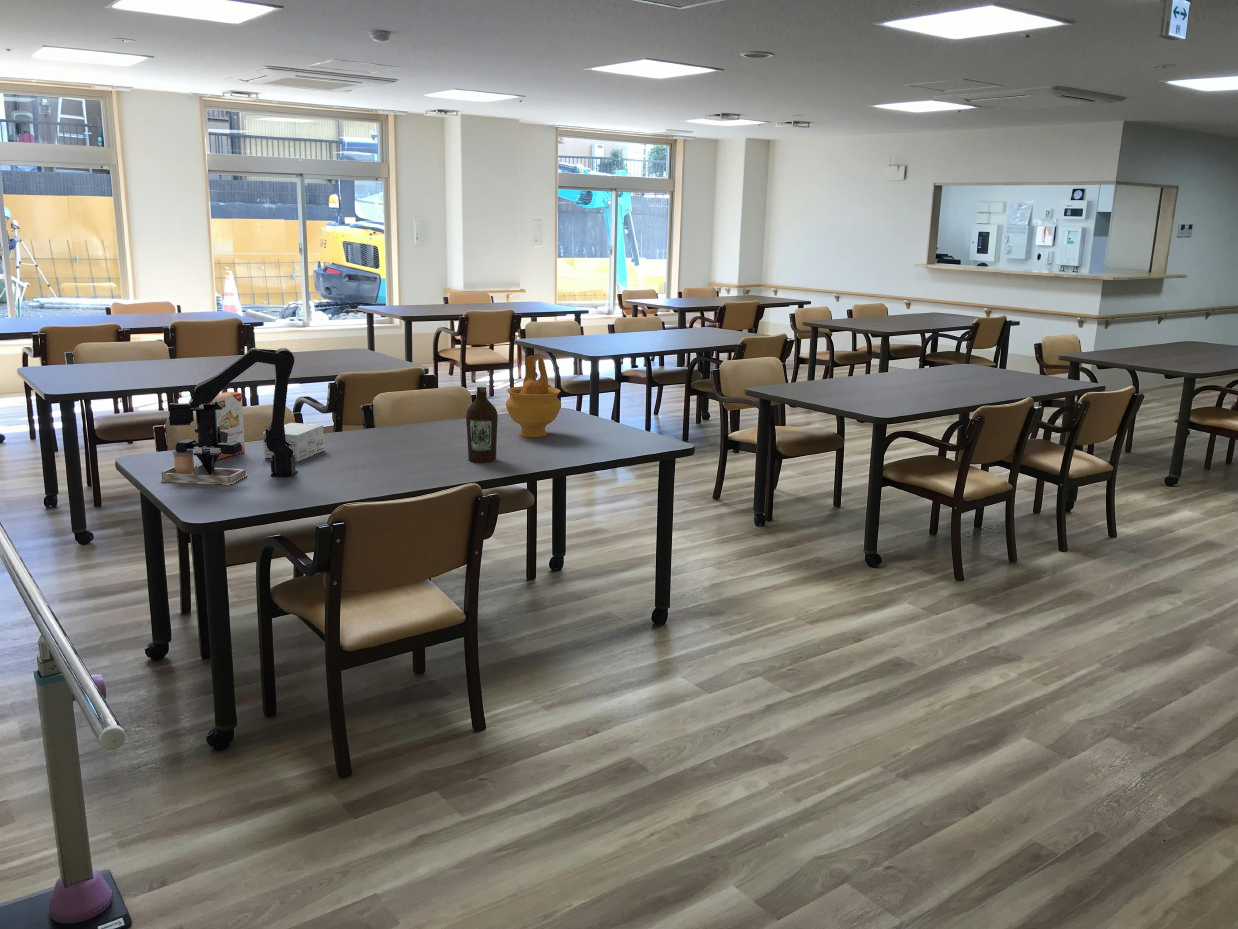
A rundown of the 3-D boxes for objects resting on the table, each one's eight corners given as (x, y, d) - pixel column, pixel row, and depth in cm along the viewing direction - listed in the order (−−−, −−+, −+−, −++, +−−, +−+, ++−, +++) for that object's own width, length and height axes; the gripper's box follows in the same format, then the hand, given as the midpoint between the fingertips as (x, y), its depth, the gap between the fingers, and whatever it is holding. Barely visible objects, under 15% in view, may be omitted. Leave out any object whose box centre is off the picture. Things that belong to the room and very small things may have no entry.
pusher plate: (210, 473, 305) (209, 461, 304) (199, 479, 298) (198, 466, 297) (207, 473, 305) (206, 461, 304) (195, 479, 298) (194, 466, 297)
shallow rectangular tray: (247, 476, 306) (246, 466, 305) (230, 485, 295) (229, 475, 295) (180, 472, 308) (179, 463, 307) (160, 481, 298) (159, 472, 297)
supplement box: (291, 448, 345) (289, 422, 343) (324, 451, 342) (323, 424, 340) (263, 458, 329) (261, 431, 327) (298, 461, 326) (297, 434, 324)
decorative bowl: (494, 434, 374) (493, 356, 367) (529, 426, 391) (530, 351, 383) (537, 442, 362) (537, 361, 355) (572, 433, 379) (572, 356, 372)
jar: (199, 474, 305) (196, 449, 303) (189, 478, 299) (186, 453, 297) (181, 473, 305) (179, 448, 303) (171, 477, 300) (168, 452, 298)
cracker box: (217, 461, 324) (212, 398, 319) (202, 459, 326) (197, 397, 321) (246, 452, 337) (242, 392, 332) (232, 450, 339) (228, 390, 334)
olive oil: (468, 456, 339) (467, 384, 333) (499, 456, 339) (498, 384, 333) (464, 463, 328) (463, 389, 322) (496, 463, 329) (496, 390, 323)
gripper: (248, 420, 304) (252, 469, 308) (191, 418, 306) (195, 466, 310) (231, 427, 294) (235, 478, 297) (172, 425, 295) (176, 475, 299)
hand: (210, 474), depth 301 cm, fingers closed
